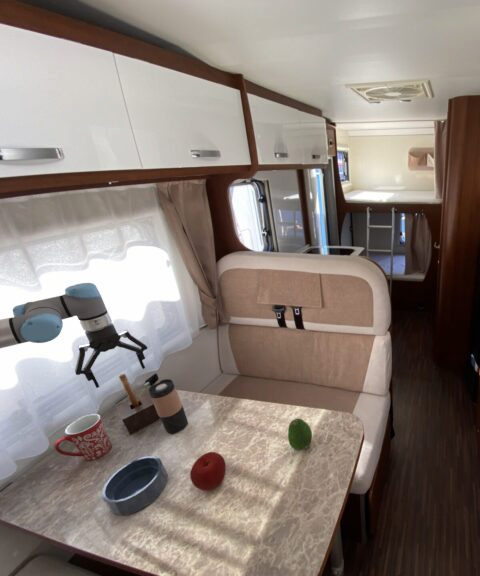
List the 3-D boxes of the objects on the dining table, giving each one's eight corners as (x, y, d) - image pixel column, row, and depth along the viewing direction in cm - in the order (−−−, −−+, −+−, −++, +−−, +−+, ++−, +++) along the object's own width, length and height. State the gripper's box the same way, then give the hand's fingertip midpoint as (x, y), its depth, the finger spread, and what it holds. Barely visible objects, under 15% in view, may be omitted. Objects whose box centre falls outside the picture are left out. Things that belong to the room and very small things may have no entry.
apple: (194, 503, 90) (184, 481, 86) (197, 476, 98) (188, 454, 94) (229, 489, 93) (221, 467, 89) (229, 463, 101) (222, 442, 97)
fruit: (316, 450, 105) (311, 424, 100) (293, 460, 102) (287, 434, 97) (310, 433, 111) (306, 408, 107) (289, 442, 108) (283, 417, 104)
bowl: (115, 528, 84) (106, 514, 82) (106, 494, 93) (97, 480, 91) (174, 488, 94) (168, 474, 92) (161, 461, 103) (154, 447, 101)
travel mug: (183, 432, 114) (166, 391, 106) (161, 436, 113) (143, 394, 105) (192, 417, 121) (176, 377, 113) (171, 420, 120) (154, 380, 112)
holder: (130, 435, 114) (122, 419, 111) (124, 421, 121) (116, 406, 118) (161, 418, 121) (155, 403, 118) (154, 406, 128) (148, 391, 125)
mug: (112, 436, 114) (97, 409, 109) (117, 449, 109) (102, 421, 103) (66, 460, 105) (48, 432, 100) (69, 476, 100) (50, 447, 95)
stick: (140, 422, 120) (118, 376, 112) (139, 420, 121) (117, 374, 114) (146, 419, 121) (125, 373, 114) (145, 417, 122) (124, 372, 115)
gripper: (48, 346, 93) (77, 399, 101) (144, 316, 110) (163, 363, 119) (46, 338, 98) (74, 390, 106) (139, 310, 115) (157, 356, 123)
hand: (121, 376), depth 112 cm, fingers open, 13 cm apart
